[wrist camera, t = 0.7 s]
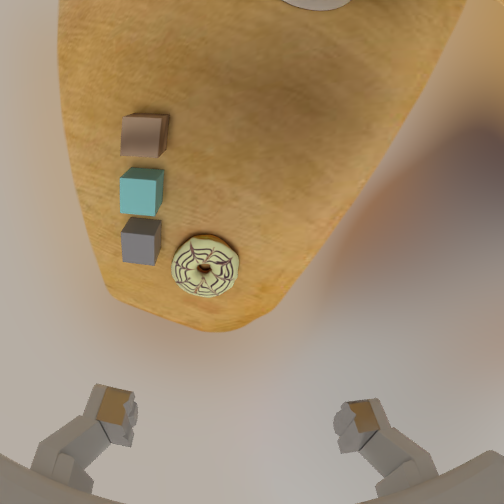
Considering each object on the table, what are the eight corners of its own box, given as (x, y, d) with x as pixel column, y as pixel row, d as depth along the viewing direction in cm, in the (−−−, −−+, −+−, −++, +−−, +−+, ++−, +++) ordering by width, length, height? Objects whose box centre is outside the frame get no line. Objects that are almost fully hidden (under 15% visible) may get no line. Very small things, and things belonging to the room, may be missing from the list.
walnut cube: (135, 113, 34) (122, 116, 29) (169, 114, 34) (161, 118, 30) (132, 147, 36) (120, 155, 32) (166, 149, 37) (157, 157, 33)
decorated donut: (248, 243, 46) (249, 256, 43) (224, 292, 51) (224, 307, 48) (185, 222, 43) (181, 234, 40) (167, 275, 48) (164, 289, 45)
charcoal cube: (130, 216, 42) (120, 232, 38) (161, 220, 43) (154, 235, 38) (131, 244, 44) (122, 261, 40) (160, 248, 45) (154, 265, 41)
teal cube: (131, 167, 38) (119, 177, 34) (164, 169, 39) (156, 180, 34) (130, 199, 40) (120, 212, 36) (162, 202, 41) (154, 216, 37)
